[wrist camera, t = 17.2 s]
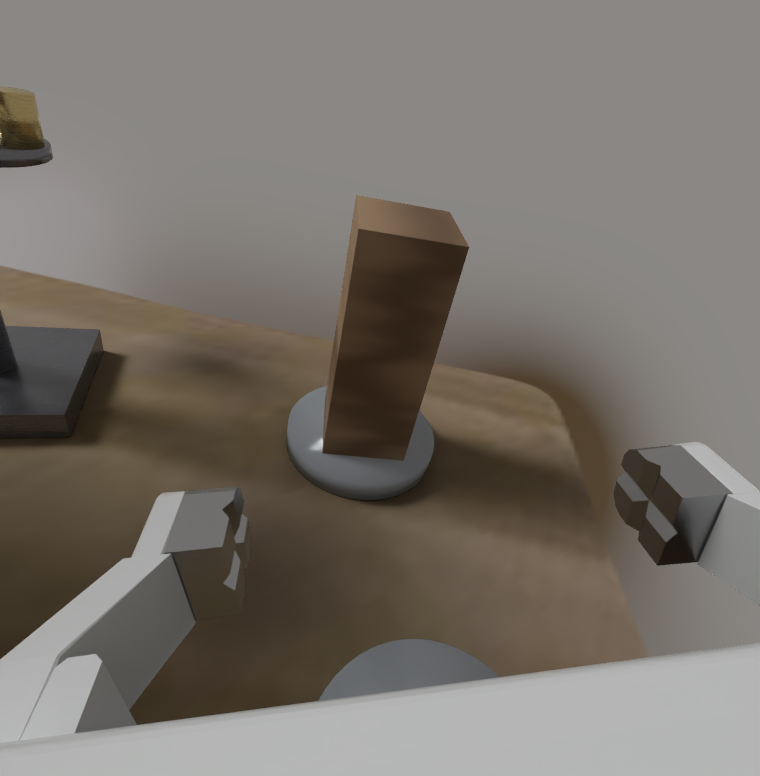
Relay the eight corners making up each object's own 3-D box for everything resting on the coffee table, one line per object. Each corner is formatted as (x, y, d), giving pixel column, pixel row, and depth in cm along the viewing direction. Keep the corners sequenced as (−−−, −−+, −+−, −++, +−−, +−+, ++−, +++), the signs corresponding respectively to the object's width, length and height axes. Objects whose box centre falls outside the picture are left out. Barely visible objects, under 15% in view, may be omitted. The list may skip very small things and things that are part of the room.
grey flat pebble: (293, 505, 24) (294, 489, 23) (281, 397, 30) (282, 382, 29) (448, 495, 26) (454, 480, 25) (407, 398, 33) (411, 384, 32)
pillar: (322, 453, 25) (358, 228, 18) (324, 400, 29) (356, 195, 22) (403, 460, 26) (469, 247, 19) (396, 408, 29) (449, 211, 22)
